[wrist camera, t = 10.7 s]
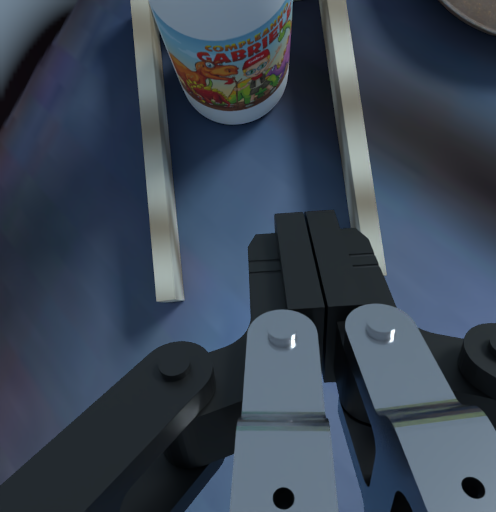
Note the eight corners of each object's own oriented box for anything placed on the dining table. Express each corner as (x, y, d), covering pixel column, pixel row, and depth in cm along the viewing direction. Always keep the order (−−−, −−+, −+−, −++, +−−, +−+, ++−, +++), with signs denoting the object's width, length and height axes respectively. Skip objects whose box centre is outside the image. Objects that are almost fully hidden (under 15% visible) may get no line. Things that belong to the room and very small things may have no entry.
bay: (376, 278, 32) (388, 274, 28) (167, 302, 32) (154, 301, 29) (332, -17, 34) (339, -54, 31) (141, 10, 35) (126, -24, 31)
